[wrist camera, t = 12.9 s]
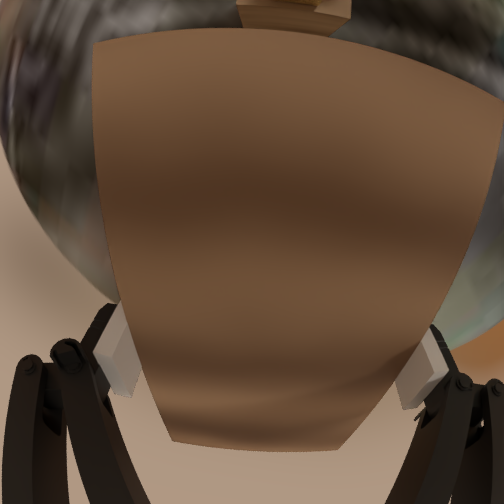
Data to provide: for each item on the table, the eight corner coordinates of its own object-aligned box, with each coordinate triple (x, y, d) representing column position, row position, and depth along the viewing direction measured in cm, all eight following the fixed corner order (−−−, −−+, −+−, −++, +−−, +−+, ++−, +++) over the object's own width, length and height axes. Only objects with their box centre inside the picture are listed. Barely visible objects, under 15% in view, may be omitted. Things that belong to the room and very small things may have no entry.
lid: (150, 53, 8) (93, 43, 5) (439, 90, 8) (505, 103, 5) (182, 393, 19) (172, 441, 16) (332, 403, 19) (337, 450, 16)
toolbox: (230, -7, 15) (204, -78, 5) (337, 4, 15) (395, -52, 5) (217, 298, 29) (199, 393, 19) (297, 304, 29) (308, 399, 19)
